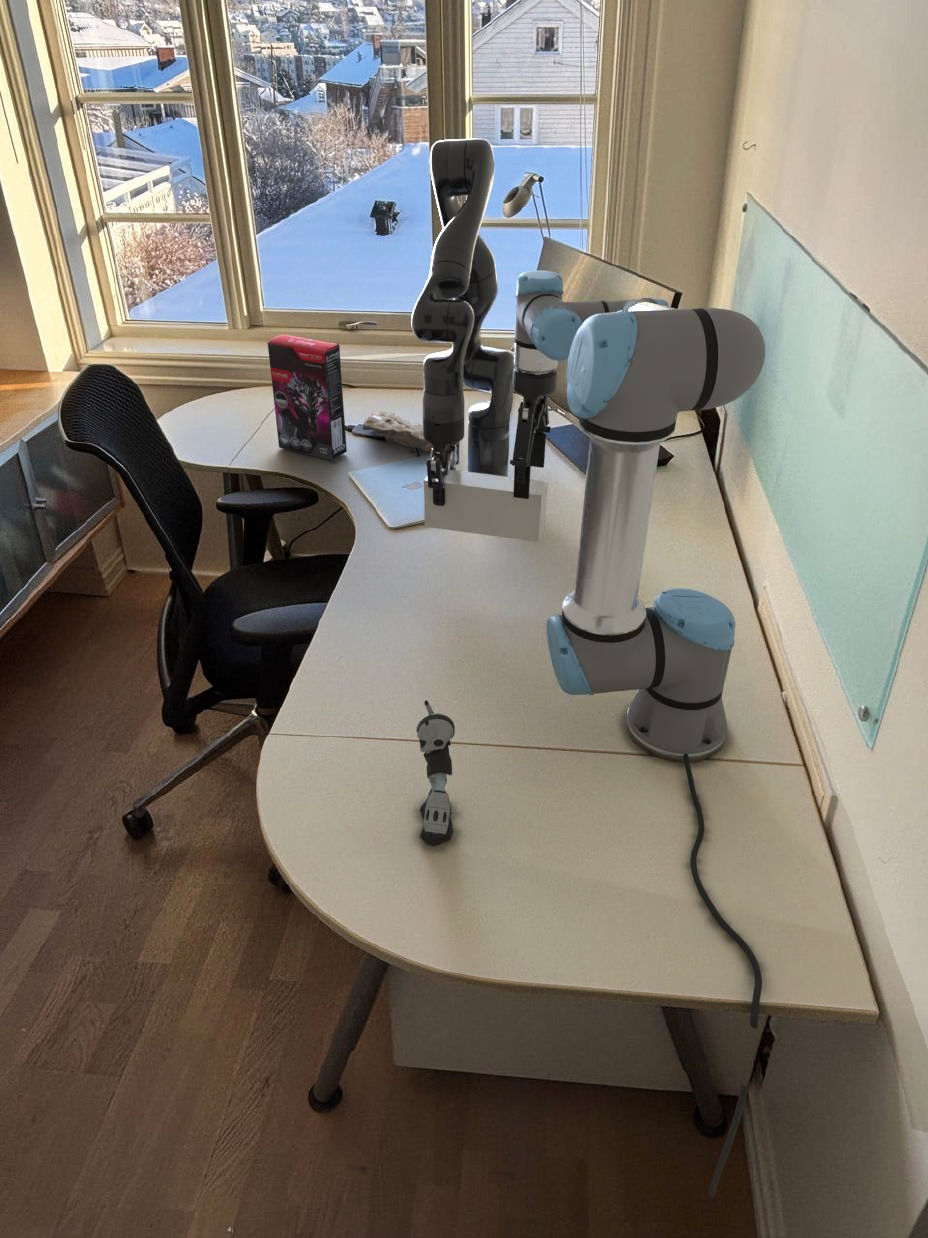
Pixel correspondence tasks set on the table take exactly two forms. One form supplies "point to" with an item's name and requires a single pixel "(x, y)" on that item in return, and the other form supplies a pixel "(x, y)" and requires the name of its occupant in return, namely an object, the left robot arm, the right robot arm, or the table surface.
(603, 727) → the table surface
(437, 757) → the robot
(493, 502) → the box
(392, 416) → the stone
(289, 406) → the graphics card box
